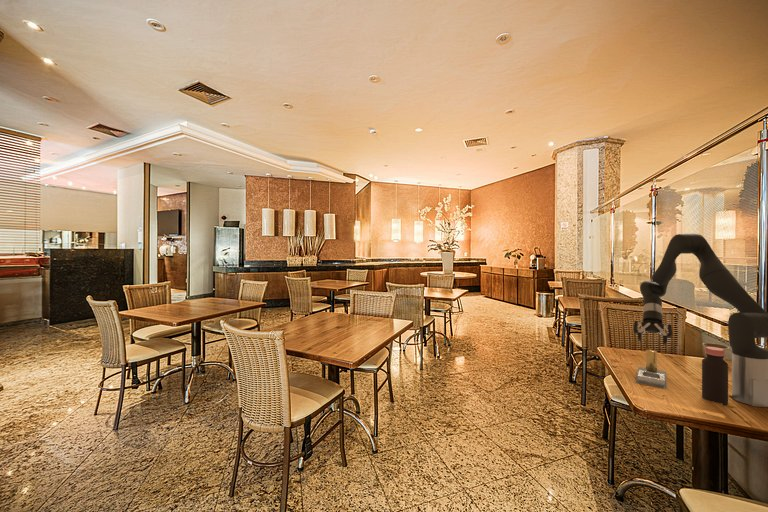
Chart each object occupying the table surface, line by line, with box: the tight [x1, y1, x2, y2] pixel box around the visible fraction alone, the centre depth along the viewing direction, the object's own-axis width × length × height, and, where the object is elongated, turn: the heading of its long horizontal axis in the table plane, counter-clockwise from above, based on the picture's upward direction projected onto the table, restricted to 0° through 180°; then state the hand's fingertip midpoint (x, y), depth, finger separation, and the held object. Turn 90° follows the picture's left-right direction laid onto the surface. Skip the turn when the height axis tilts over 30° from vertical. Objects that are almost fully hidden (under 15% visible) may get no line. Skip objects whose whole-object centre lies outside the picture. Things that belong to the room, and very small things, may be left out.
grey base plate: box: [634, 366, 668, 390], centre depth 140 cm, size 24×10×1 cm, turn 139°
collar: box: [637, 370, 665, 387], centre depth 136 cm, size 9×9×2 cm
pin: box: [645, 349, 658, 373], centre depth 145 cm, size 4×4×10 cm
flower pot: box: [702, 342, 730, 362], centre depth 159 cm, size 9×9×9 cm
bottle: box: [701, 347, 729, 407], centre depth 119 cm, size 7×7×20 cm
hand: (652, 342), depth 151 cm, fingers open, 8 cm apart
